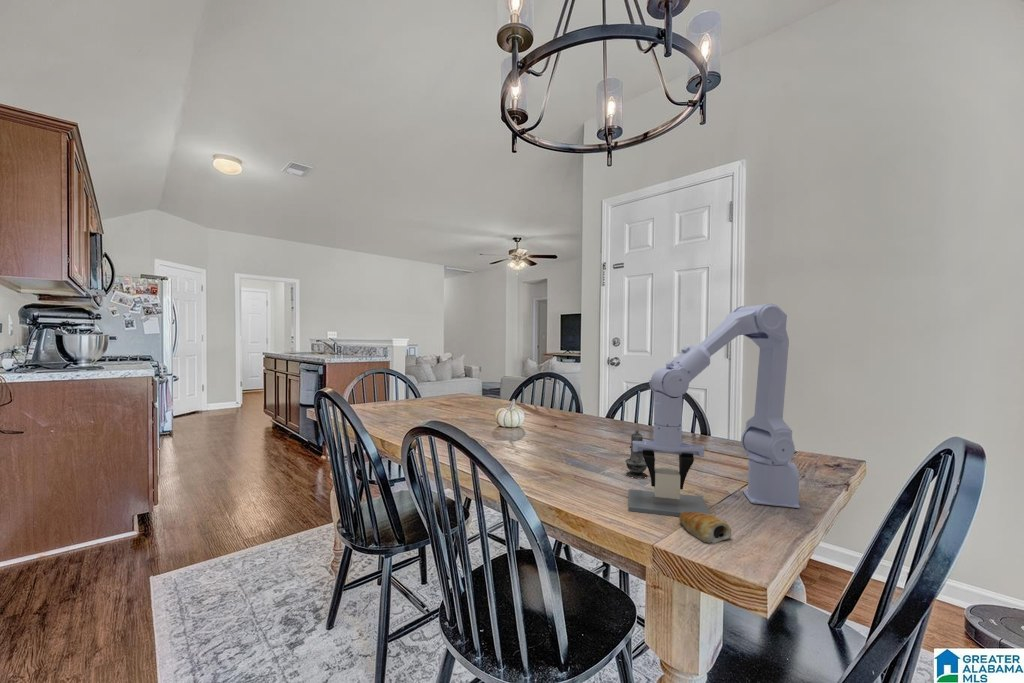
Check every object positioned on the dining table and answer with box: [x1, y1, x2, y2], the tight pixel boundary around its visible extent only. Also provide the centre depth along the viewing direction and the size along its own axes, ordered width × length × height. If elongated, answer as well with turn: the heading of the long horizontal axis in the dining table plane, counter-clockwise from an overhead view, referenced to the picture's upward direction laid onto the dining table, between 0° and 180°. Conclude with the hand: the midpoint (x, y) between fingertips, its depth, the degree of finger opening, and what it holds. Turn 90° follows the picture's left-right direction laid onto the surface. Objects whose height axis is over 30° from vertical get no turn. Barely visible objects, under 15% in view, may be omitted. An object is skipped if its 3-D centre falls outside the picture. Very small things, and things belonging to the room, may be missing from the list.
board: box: [627, 488, 712, 518], centre depth 92 cm, size 16×11×1 cm
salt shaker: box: [624, 430, 648, 479], centre depth 112 cm, size 6×6×12 cm
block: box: [653, 466, 681, 499], centre depth 93 cm, size 5×5×5 cm
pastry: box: [679, 512, 732, 544], centre depth 80 cm, size 9×7×4 cm
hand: (666, 486), depth 92 cm, fingers closed on block, 5 cm apart
